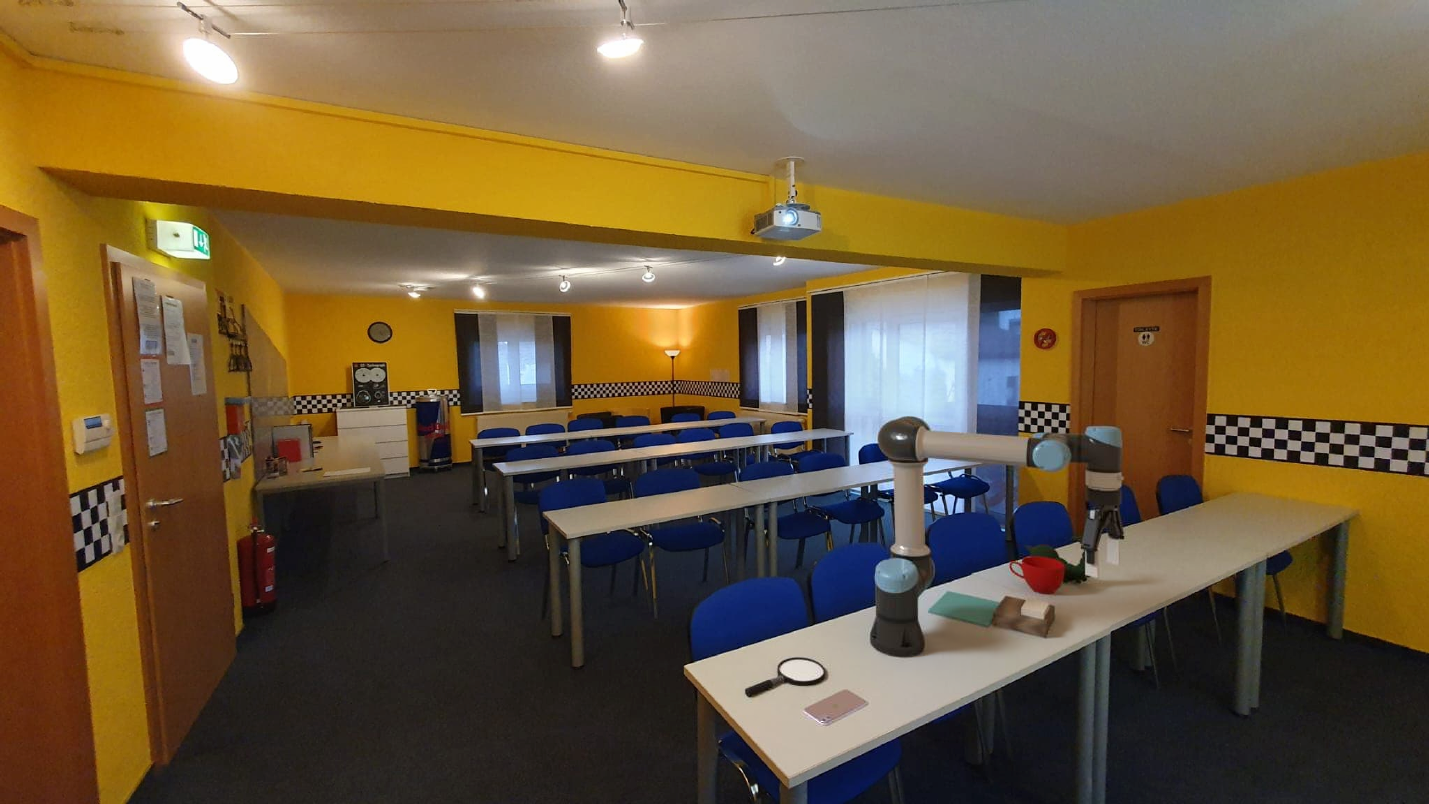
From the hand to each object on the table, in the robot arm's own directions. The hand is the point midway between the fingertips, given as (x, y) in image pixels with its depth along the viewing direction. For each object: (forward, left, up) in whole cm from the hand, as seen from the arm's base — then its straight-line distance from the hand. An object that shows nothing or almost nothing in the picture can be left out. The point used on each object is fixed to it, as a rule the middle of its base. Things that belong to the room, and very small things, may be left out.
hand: (1102, 569), depth 146 cm
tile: (-19, +20, -23) cm, 35 cm away
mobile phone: (-48, -54, -27) cm, 77 cm away
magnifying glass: (-64, -52, -28) cm, 87 cm away
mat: (-39, +20, -27) cm, 51 cm away
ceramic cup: (-24, +50, -27) cm, 61 cm away
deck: (-22, +20, -27) cm, 40 cm away
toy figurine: (-19, +66, -27) cm, 74 cm away
